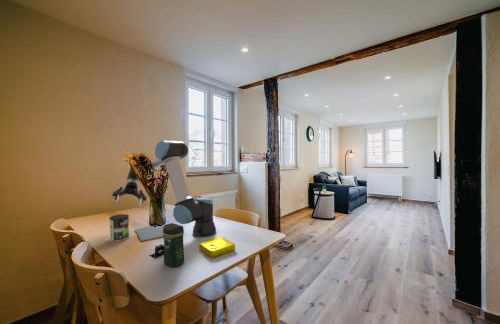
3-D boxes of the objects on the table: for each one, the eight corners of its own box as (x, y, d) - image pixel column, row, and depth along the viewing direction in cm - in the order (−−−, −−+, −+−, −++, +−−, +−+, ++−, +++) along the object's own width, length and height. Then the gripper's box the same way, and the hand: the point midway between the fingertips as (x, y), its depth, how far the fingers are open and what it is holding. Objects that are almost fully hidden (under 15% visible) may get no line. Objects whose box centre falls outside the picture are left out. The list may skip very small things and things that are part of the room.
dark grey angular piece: (167, 248, 123) (166, 240, 123) (174, 252, 118) (174, 243, 118) (145, 257, 113) (144, 248, 113) (152, 261, 108) (152, 251, 108)
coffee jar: (187, 262, 105) (186, 224, 104) (172, 269, 99) (171, 228, 98) (175, 257, 111) (174, 220, 110) (160, 263, 105) (159, 224, 104)
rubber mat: (174, 234, 143) (174, 233, 143) (140, 241, 132) (140, 240, 132) (165, 225, 165) (165, 223, 165) (135, 230, 154) (135, 229, 154)
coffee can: (133, 236, 142) (132, 214, 142) (120, 242, 132) (119, 218, 132) (119, 235, 144) (118, 213, 144) (106, 241, 134) (105, 218, 134)
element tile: (236, 251, 117) (236, 242, 117) (211, 260, 108) (211, 250, 108) (221, 243, 129) (221, 235, 129) (198, 250, 120) (197, 241, 119)
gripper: (148, 193, 165) (148, 211, 147) (110, 187, 153) (104, 205, 135) (151, 184, 163) (151, 201, 145) (112, 178, 150) (107, 195, 133)
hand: (128, 203), depth 140 cm, fingers open, 13 cm apart
